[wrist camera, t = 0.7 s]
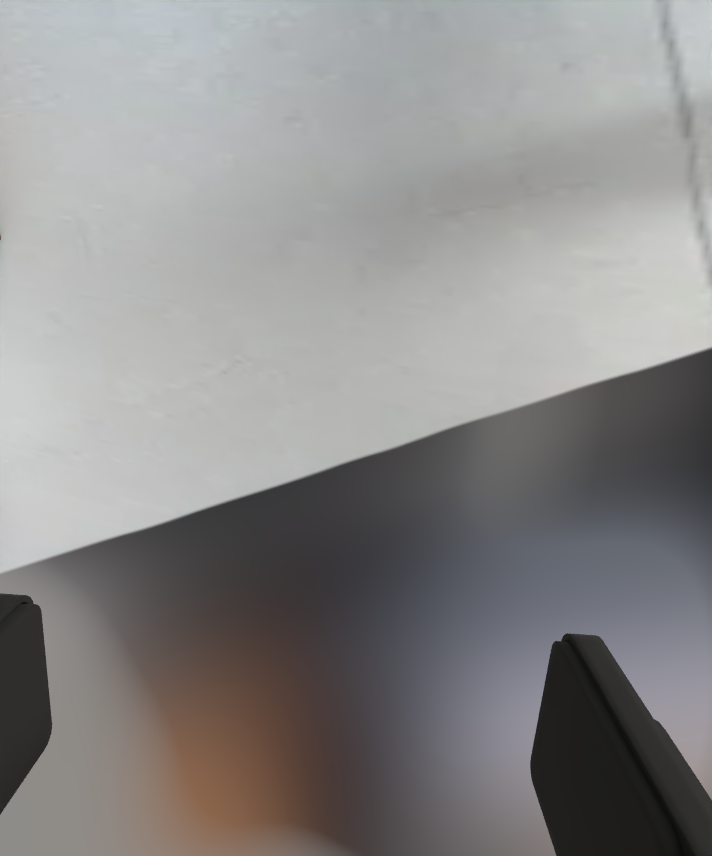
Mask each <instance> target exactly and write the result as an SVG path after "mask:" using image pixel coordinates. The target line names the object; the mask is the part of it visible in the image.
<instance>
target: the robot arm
mask: <svg viewBox="0 0 712 856" xmlns="http://www.w3.org/2000/svg"><path fill="white" fill-rule="evenodd" d="M51 729H52V720H51V710H50V699H49V688H48V677H47V668H46V656H45V645H44V635H43V624H42V614H41V609H40V607H39V606H38V605H36V604H33V601H32V599H31V598H30V597H29V596H26V595H13V594H0V814H1V813H2V811H3V810H4V808H5V807H6V805H7V803H8V802H9V801H10V799H11V798H12V796H13V795H14V793H15V792H16V790H17V789H18V788H19V786H20V785H21V783H22V782H23V780H24V779H25V777H26V776H27V774H28V773H29V771H30V770H31V768H32V767H33V765H34V764H35V762H36V761H37V760H38V758H39V757H40V755H41V754H42V752H43V751H44V749H45V748H46V746H47V744H48V741H49V739H50V735H51ZM531 777H532V782H533V785H534V788H535V791H536V794H537V797H538V801H539V804H540V807H541V810H542V813H543V816H544V819H545V822H546V825H547V828H548V831H549V834H550V837H551V840H552V843H553V846H554V849H555V852H556V855H557V856H712V800H711V799H710V797H709V796H708V794H707V792H706V791H705V789H704V788H703V786H702V785H701V783H700V782H699V780H698V779H697V778H696V776H695V774H694V773H693V772H692V770H691V768H690V767H689V765H688V764H687V762H686V761H685V759H684V758H683V756H682V755H681V753H680V752H679V750H678V748H677V747H676V745H675V744H674V743H673V741H672V739H671V738H670V736H669V735H668V733H667V732H666V730H665V729H664V728H663V727H662V725H661V724H660V723H659V722H658V721H656V720H654V719H653V717H652V716H651V714H650V713H649V711H648V710H647V708H646V707H645V705H644V703H643V702H642V700H641V699H640V697H639V696H638V694H637V693H636V691H635V690H634V688H633V687H632V685H631V684H630V682H629V680H628V679H627V677H626V676H625V674H624V673H623V671H622V670H621V668H620V667H619V665H618V663H617V662H616V660H615V659H614V658H613V656H612V654H611V653H610V651H609V650H608V648H607V646H606V645H605V644H604V642H603V640H602V639H601V638H600V637H599V636H595V635H581V634H565V635H564V636H563V638H562V641H555V642H554V643H553V645H552V649H551V654H550V659H549V665H548V670H547V675H546V681H545V686H544V691H543V696H542V702H541V707H540V712H539V718H538V723H537V729H536V734H535V739H534V744H533V750H532V755H531Z"/></svg>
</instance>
